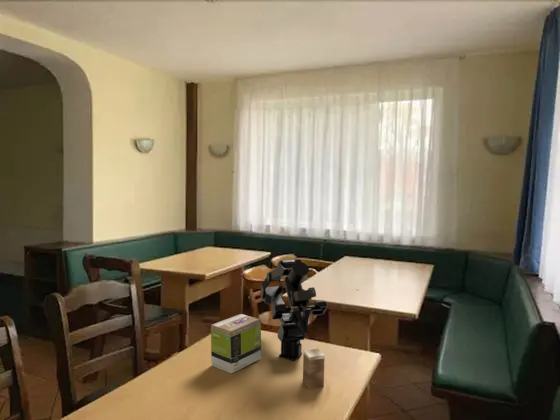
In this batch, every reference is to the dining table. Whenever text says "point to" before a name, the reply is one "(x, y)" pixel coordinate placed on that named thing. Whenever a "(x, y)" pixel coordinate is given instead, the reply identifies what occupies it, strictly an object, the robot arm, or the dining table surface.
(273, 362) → the dining table surface
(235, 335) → the tea box
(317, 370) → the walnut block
